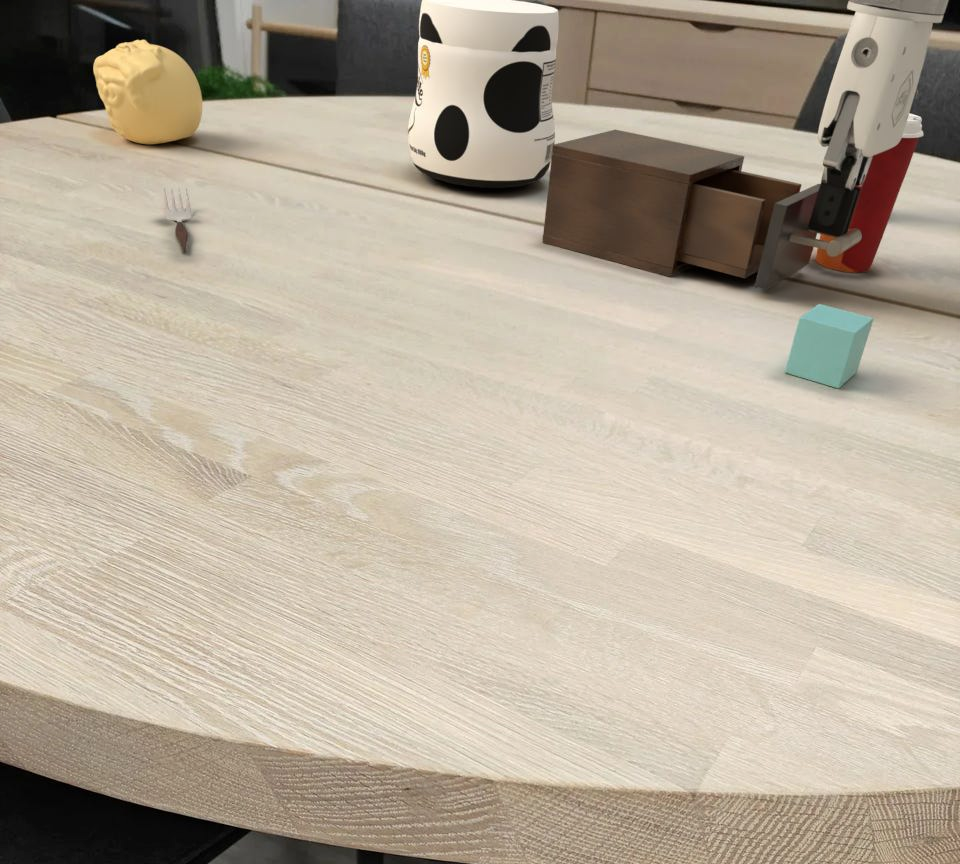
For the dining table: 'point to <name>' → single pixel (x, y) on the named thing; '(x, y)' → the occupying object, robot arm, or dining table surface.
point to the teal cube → (828, 345)
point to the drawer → (753, 227)
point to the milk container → (484, 92)
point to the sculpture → (148, 92)
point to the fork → (179, 218)
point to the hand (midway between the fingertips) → (827, 231)
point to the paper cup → (875, 202)
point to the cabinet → (626, 196)
